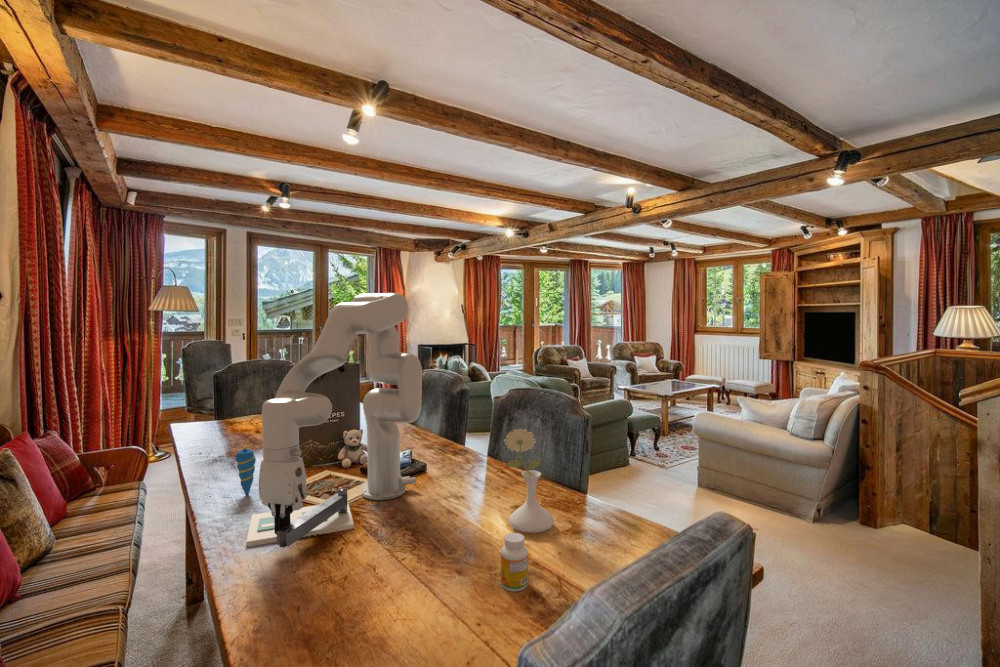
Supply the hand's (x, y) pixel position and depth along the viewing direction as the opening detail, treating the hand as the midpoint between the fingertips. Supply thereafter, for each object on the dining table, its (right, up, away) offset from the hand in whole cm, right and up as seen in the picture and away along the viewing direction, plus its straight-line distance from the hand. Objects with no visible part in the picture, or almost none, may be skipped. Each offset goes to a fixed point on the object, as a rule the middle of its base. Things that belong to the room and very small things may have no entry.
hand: (282, 531), depth 109 cm
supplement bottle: (+53, -5, -14) cm, 55 cm away
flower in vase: (+57, -4, +12) cm, 58 cm away
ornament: (-25, -3, +32) cm, 41 cm away
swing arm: (+5, -2, +7) cm, 9 cm away
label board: (-1, -4, +13) cm, 14 cm away
